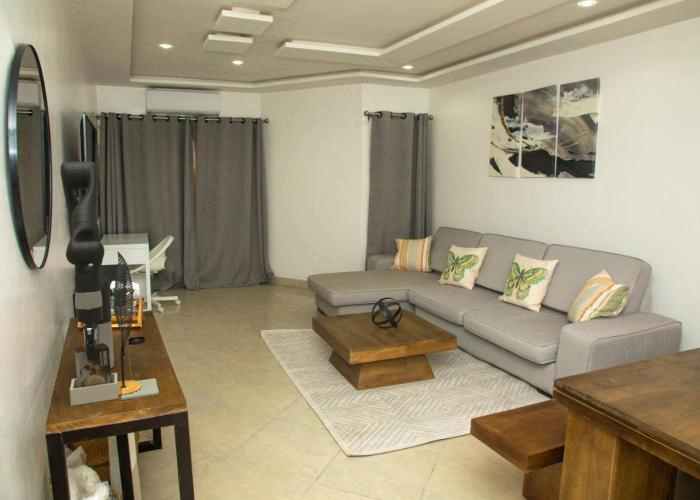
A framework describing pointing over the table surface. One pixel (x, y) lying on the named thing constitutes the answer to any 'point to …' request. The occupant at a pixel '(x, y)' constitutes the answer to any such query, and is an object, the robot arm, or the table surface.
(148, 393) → the mat
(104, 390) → the open box
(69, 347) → the table surface
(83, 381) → the coffee box
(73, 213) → the robot arm
